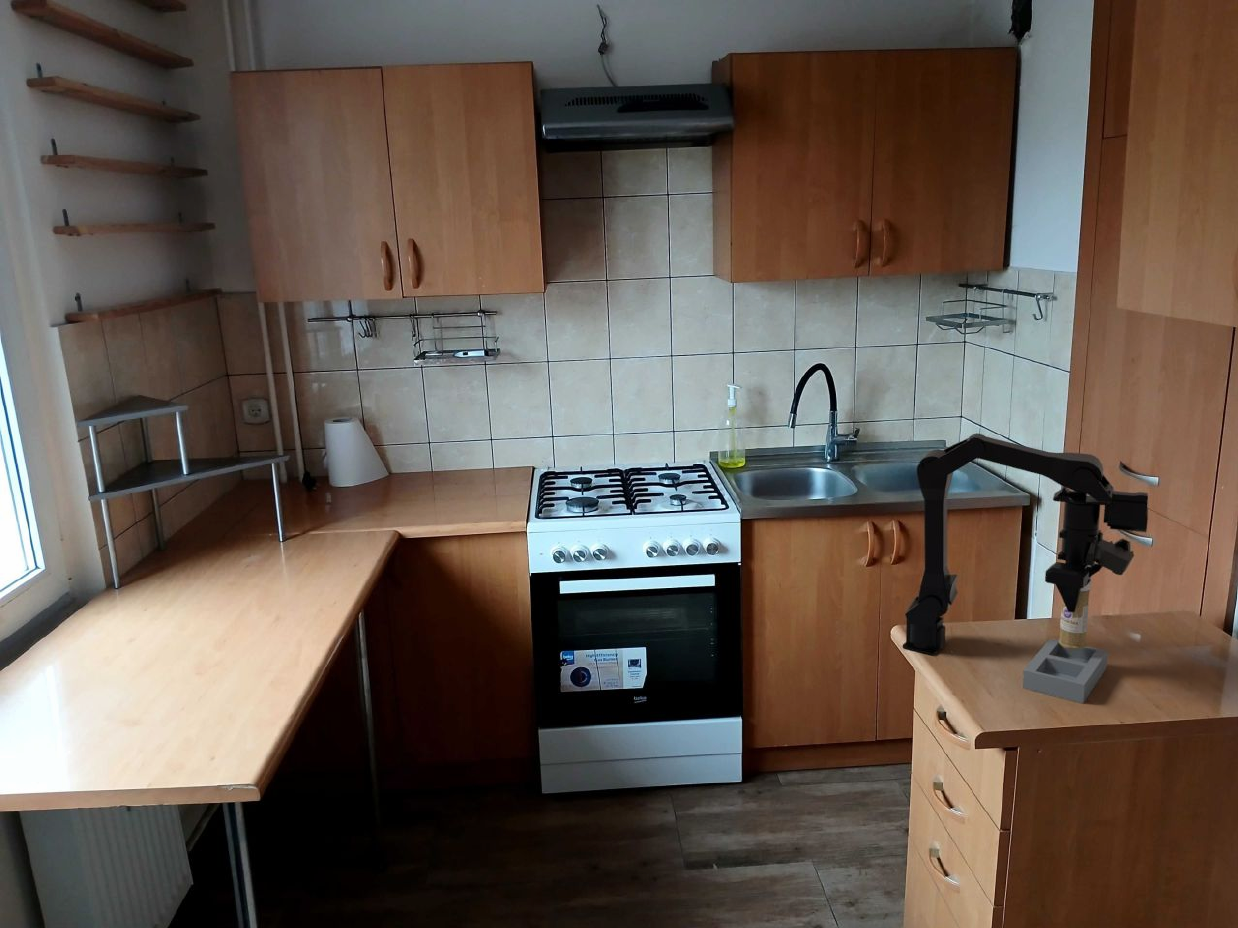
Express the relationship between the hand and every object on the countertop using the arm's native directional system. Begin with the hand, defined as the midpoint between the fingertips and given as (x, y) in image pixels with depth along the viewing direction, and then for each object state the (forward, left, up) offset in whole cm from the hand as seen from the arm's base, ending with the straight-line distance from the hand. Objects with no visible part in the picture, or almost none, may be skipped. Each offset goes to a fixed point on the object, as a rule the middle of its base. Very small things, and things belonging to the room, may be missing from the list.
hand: (1074, 607), depth 168 cm
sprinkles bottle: (0, 0, -8) cm, 8 cm away
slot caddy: (0, -4, -12) cm, 13 cm away
